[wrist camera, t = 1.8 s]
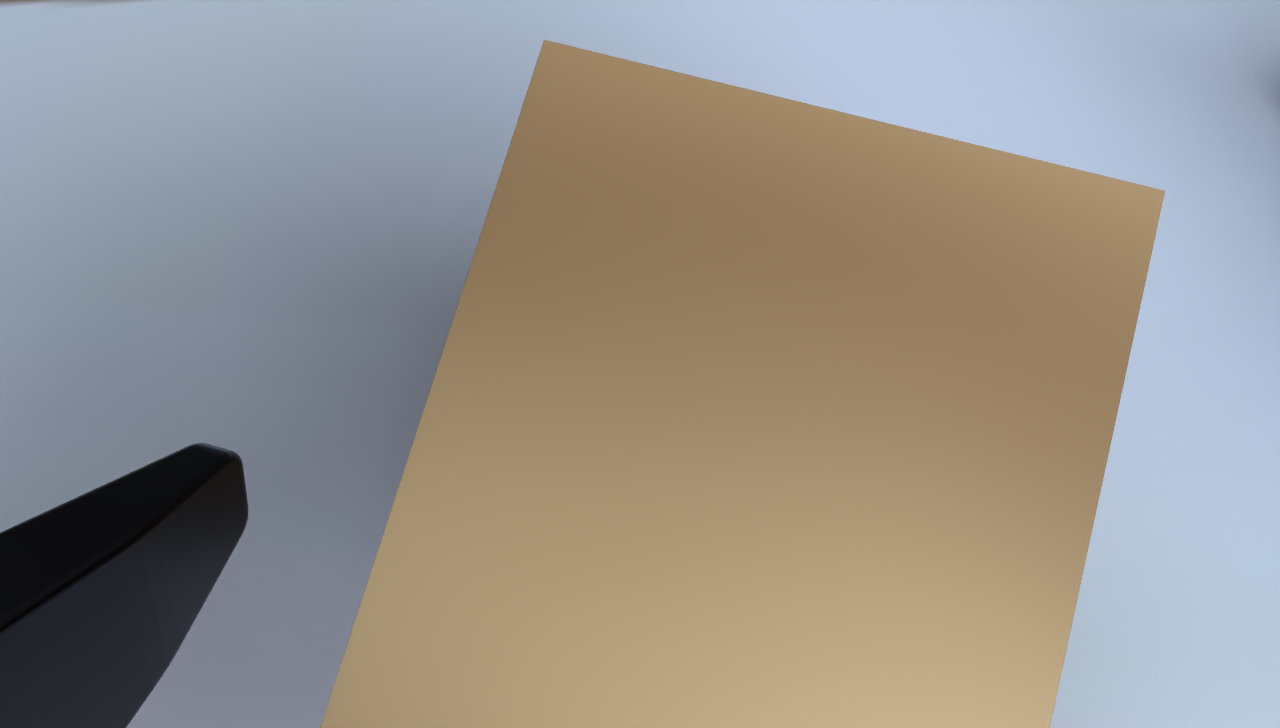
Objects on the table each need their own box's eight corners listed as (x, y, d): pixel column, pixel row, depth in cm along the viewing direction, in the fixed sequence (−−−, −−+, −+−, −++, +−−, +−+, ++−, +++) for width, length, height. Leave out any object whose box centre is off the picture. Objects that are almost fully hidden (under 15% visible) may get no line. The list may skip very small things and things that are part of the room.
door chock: (781, 685, 17) (979, 1053, 5) (570, 621, 18) (292, 819, 6) (849, 420, 18) (1165, 192, 6) (645, 364, 19) (543, 39, 6)
